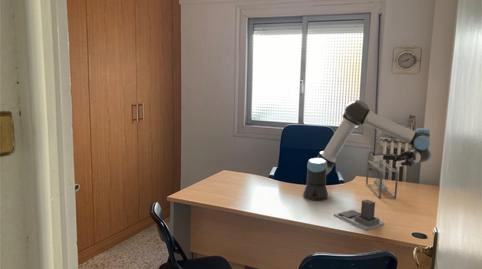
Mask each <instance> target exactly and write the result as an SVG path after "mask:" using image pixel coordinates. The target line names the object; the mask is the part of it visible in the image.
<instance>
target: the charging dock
mask: <svg viewBox="0 0 482 269" xmlns="http://www.w3.org/2000/svg"><path fill="white" fill-rule="evenodd" d="M333 216H334V217H335V218H337V219H340V220H342V221H343V222H346V223H348V224H350V225H353V226H354V227H357V228H359V229H361V230H363V231H368V230H371V229H374V228H375V229H376V228H378V227H381V226H384V225H385V223H384V222H383V221H382V220H380V218H378V217H375V216H374V220H371V221H368V220H365V219H363V218H361V212H359V211H357V210H355V209H349V210H346V211H342V212H337V213H334V214H333Z"/></svg>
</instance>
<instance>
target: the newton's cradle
mask: <svg viewBox="0 0 482 269" xmlns="http://www.w3.org/2000/svg"><path fill="white" fill-rule="evenodd" d="M370 165H372V166H373V168H374V169H375V173H376V176H377V177H378V178H375V179H374V180H373V185H375V187H377V188H378V189H379V190H378V191H379V192H378V193H377V192H375V190H374V189H373V188H372V187H371V185H370V184H368V183H369V182H368V181H369V167H370ZM385 169H386V170H385ZM377 171H378V172H377ZM385 172H386V174H388V175H385ZM392 172H393V173H395V183H394V184H395V185H394V195H393V193H391V192H390V191H389V190H388V187H387V186H386V185H387V182H388V180H386V181H385V179H386V176H389V175H390V173H392ZM365 175H366V179H365V184H366V187H367V188H368V189H369V190H370V191H371V192H372V193H373V194H374V195H375V196H376V197H377V199H380V198H391V199H397V192H398V183H399V171H398V170H397V169H396V168H393V167H392V166H391V165H390V164H388V163H387V162H386V161H384V160H382V161H374V160H373V161H371V160H367V164H366V174H365ZM384 175H385V176H384ZM382 192H383V193H388V195H389V196H382Z"/></svg>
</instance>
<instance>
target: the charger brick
mask: <svg viewBox="0 0 482 269" xmlns="http://www.w3.org/2000/svg"><path fill="white" fill-rule="evenodd" d="M375 208H376V202H375V201H373V200H370V199H363V200H361V207H360V213H361V218H363V219H365V220H368V221H371V220H374V217H375Z"/></svg>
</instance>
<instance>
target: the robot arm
mask: <svg viewBox="0 0 482 269" xmlns="http://www.w3.org/2000/svg"><path fill="white" fill-rule="evenodd" d="M360 125H362V126H365V125H366V126H369V127H370V128H373V129H375V130H377V131H379V132H382V133H385V134H386V135H388V136H391V137H393V138H396V139H397V140H399V141H402V142H404V143H406V144H408V145H411V146H413V149H411V150H405V151H404V150H403V152H401V153H400V154H396V153H379V154H378V155H375V156H374V159H373V161H381V162H382V161H384V160H387V161H394V162H395V167H396V168H399V167H408V166H409V167H412V166H413V165H414V164H418V163H424V162H427V161H429V160H430V159H431V158H432V152H431V151H430V149H429V147H430V145H431V140H430V138H431V137H430V136H431V130H430V129H428V128H421V127H420V128H416V129H415V130H413V129H410V128H408V127H406V126H403V125H402V124H399V123H397V122H395V121H392V120H391V119H388V118H385V117H383V116H381V115H379V114H376V113H374V112H373V110H371V109H369V106H368V105H367V102H365V101H363V100H361V99H360V100H359V99H356V100H353V101H351V102H349V103H348V104H347V105H346V106H345V109H344V113H343V114H342V121H341V122H340V125H339V126H338V127H337V129H336V130H335V132H334V133H333V135H332V136H331V139H330V140H329V142H328V143H327V145H326V147H325V149H324V150H322V151H319V153H318V155H317V157H313V158H310V159H308V161H307V165H306V168H307V169H306V170H307V171H306V185H305V187H304V190H303V192H302V196H303V198H305V199H306V200H311V201H326V200H329V193H328V189H327V186H326V184H327V175H328V174H329V173H331V171H332V170H333V168H334V166H335V164H336V163H337V159H336V158H337V156H338V155H339V154H340V152H341V151H342V149H343V147H344V146H345V144H346V142H347V141H348V139H349V138H350V136H351V135H352V133H353V131H354V130H355V128H356V127H360Z"/></svg>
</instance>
